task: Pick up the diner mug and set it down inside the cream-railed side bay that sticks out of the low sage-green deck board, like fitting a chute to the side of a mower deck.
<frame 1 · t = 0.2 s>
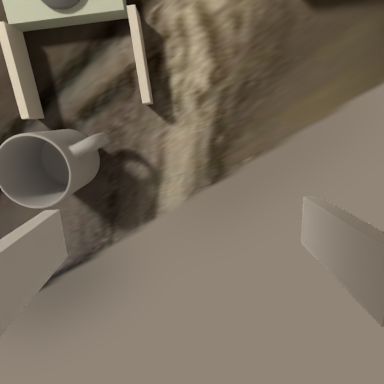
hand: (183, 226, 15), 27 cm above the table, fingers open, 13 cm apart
mug: (81, 153, 41), on the table
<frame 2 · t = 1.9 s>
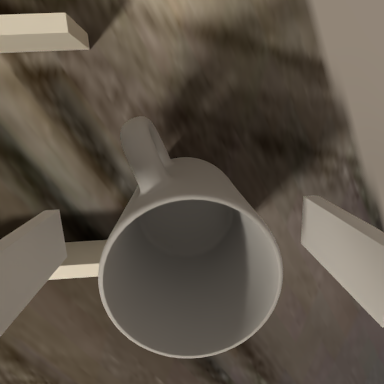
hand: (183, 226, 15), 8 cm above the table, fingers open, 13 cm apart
mug: (176, 188, 23), on the table
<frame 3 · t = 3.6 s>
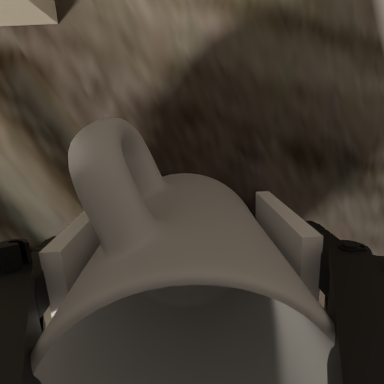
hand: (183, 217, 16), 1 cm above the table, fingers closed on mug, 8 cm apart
mug: (173, 214, 17), on the table, touching gripper
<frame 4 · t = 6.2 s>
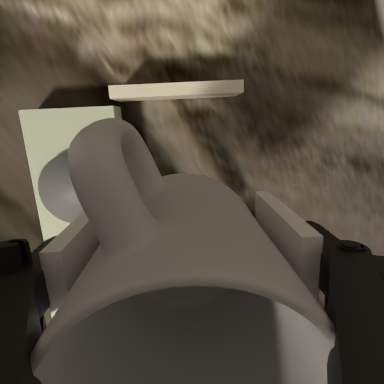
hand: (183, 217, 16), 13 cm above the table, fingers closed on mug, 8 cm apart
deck: (88, 180, 28), on the table
mug: (173, 214, 17), point 12 cm above the table, touching gripper
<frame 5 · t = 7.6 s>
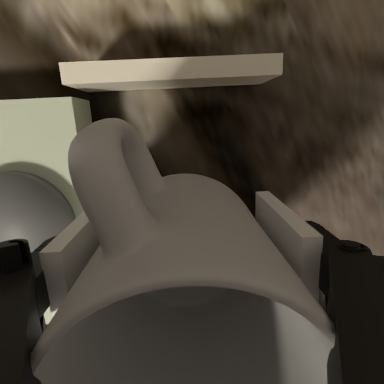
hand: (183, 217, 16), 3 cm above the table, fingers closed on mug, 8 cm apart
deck: (45, 208, 19), on the table
mug: (173, 214, 17), point 3 cm above the table, touching gripper
when the fingers open (2 cm above the table, at t = 8.8 s): mug drops 2 cm, on the table.
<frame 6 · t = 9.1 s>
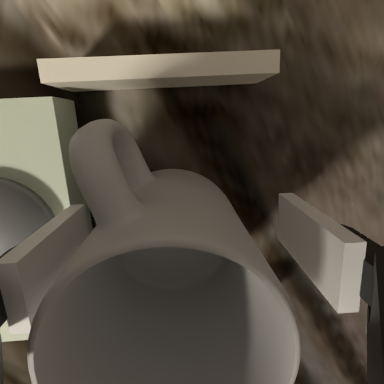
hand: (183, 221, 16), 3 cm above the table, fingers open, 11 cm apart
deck: (28, 215, 18), on the table
mug: (162, 206, 19), on the table
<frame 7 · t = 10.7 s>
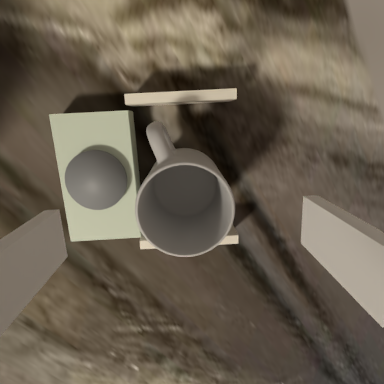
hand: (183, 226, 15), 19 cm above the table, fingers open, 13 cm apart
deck: (105, 174, 33), on the table
mug: (179, 169, 33), on the table
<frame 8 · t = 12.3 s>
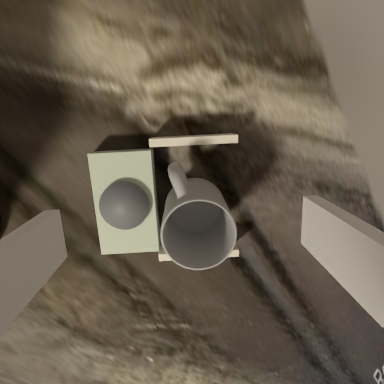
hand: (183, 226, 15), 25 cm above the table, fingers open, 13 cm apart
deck: (129, 198, 40), on the table
mug: (190, 194, 40), on the table
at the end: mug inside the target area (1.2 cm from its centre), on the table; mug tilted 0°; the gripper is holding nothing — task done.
